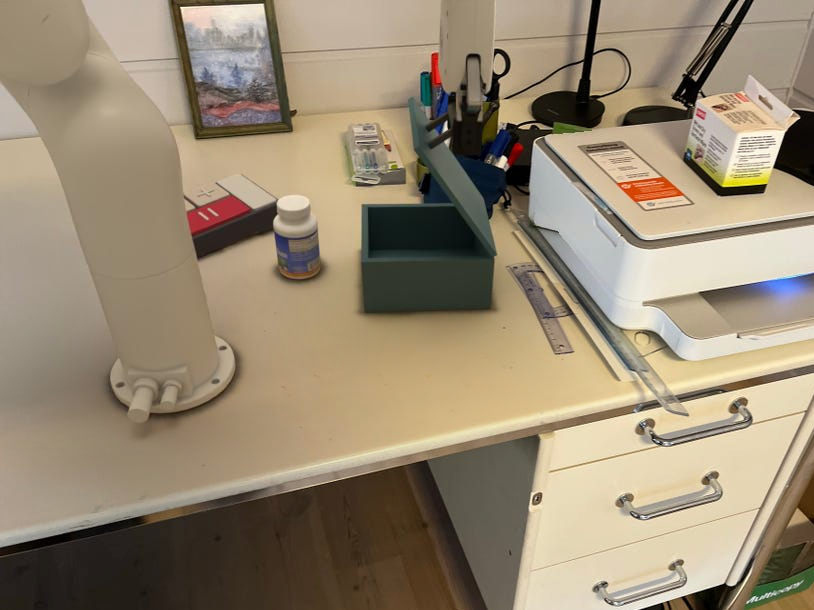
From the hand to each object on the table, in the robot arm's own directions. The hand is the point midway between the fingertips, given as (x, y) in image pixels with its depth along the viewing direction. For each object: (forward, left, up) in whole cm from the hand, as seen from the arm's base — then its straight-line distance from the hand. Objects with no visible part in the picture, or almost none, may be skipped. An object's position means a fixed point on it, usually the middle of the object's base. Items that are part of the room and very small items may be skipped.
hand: (463, 140), depth 86 cm
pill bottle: (+3, +20, -19) cm, 28 cm away
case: (0, +4, -19) cm, 20 cm away
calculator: (+14, +32, -19) cm, 40 cm away
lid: (0, +1, -5) cm, 5 cm away
